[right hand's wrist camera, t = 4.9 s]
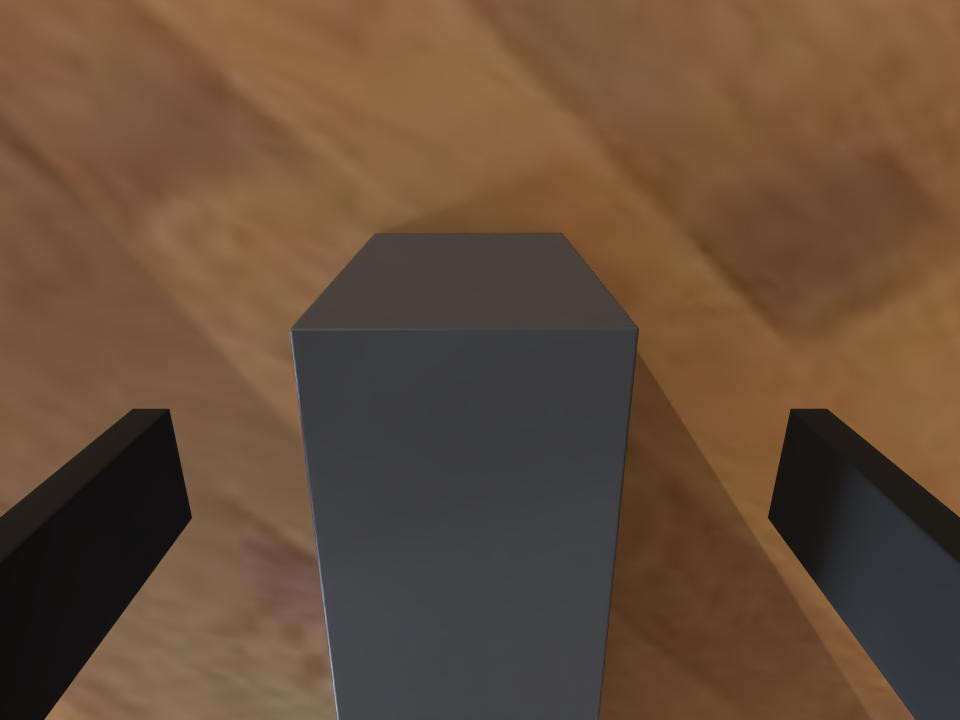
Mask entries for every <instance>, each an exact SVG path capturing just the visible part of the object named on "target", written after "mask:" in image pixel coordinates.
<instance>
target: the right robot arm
mask: <svg viewBox="0 0 960 720" xmlns="http://www.w3.org/2000/svg"><path fill="white" fill-rule="evenodd" d="M191 519H192V515H191V510H190V506H189V501H188V496H187V491H186V487H185V482H184V477H183V472H182V467H181V463H180V458H179V453H178V448H177V443H176V439H175V434H174V429H173V424H172V420H171V415H170V410H169V409H132V410H131V411H130V412H129V413H127V414H126V415H125V416H124V417H122V418H121V419H120V420H119V421H118V422H116V423H115V424H114V425H113V426H111V427H110V428H109V429H108V430H107V431H105V432H104V433H103V434H102V435H100V436H99V437H98V438H97V439H96V440H94V441H93V442H92V443H91V444H89V445H88V446H87V447H86V448H85V449H83V450H82V451H81V452H80V453H78V454H77V455H76V456H75V457H74V458H72V459H71V460H70V461H69V462H67V463H66V464H65V465H64V466H63V467H61V468H60V469H59V470H58V471H56V472H55V473H54V474H53V475H52V476H50V477H49V478H48V479H47V480H45V481H44V482H43V483H42V484H41V485H39V486H38V487H37V488H36V489H34V490H33V491H32V492H31V493H30V494H28V495H27V496H26V497H25V498H23V499H22V500H21V501H20V502H19V503H17V504H16V505H15V506H14V507H12V508H11V509H10V510H9V511H8V512H6V513H5V514H4V515H3V516H2V517H0V720H44V719H45V718H46V717H47V715H48V714H49V713H50V711H51V710H52V708H53V707H54V706H55V704H56V703H57V702H58V700H59V699H60V698H61V696H62V695H63V693H64V692H65V691H66V689H67V688H68V687H69V685H70V684H71V683H72V681H73V680H74V678H75V677H76V676H77V674H78V673H79V672H80V670H81V669H82V668H83V666H84V665H85V663H86V662H87V661H88V659H89V658H90V657H91V655H92V654H93V652H94V651H95V650H96V648H97V647H98V646H99V644H100V643H101V642H102V640H103V639H104V637H105V636H106V635H107V633H108V632H109V631H110V629H111V628H112V627H113V625H114V624H115V622H116V621H117V620H118V618H119V617H120V616H121V614H122V613H123V612H124V610H125V609H126V607H127V606H128V605H129V603H130V602H131V601H132V599H133V598H134V597H135V595H136V594H137V592H138V591H139V590H140V588H141V587H142V586H143V584H144V583H145V582H146V580H147V579H148V577H149V576H150V575H151V573H152V572H153V571H154V569H155V568H156V566H157V565H158V564H159V562H160V561H161V560H162V558H163V557H164V556H165V554H166V553H167V551H168V550H169V549H170V547H171V546H172V545H173V543H174V542H175V541H176V539H177V538H178V536H179V535H180V534H181V532H182V531H183V530H184V528H185V527H186V526H187V524H188V523H189V521H190V520H191ZM768 519H769V520H770V521H771V523H772V524H773V526H774V527H775V528H776V530H777V531H778V532H779V534H780V535H781V536H782V538H783V539H784V541H785V542H786V543H787V545H788V546H789V547H790V549H791V550H792V551H793V553H794V554H795V556H796V557H797V558H798V560H799V561H800V562H801V564H802V565H803V566H804V568H805V569H806V571H807V572H808V573H809V575H810V576H811V577H812V579H813V580H814V582H815V583H816V584H817V586H818V587H819V588H820V590H821V591H822V592H823V594H824V595H825V597H826V598H827V599H828V601H829V602H830V603H831V605H832V606H833V607H834V609H835V610H836V612H837V613H838V614H839V616H840V617H841V618H842V620H843V621H844V622H845V624H846V625H847V627H848V628H849V629H850V631H851V632H852V633H853V635H854V636H855V637H856V639H857V640H858V642H859V643H860V644H861V646H862V647H863V648H864V650H865V651H866V652H867V654H868V655H869V657H870V658H871V659H872V661H873V662H874V663H875V665H876V666H877V668H878V669H879V670H880V672H881V673H882V674H883V676H884V677H885V678H886V680H887V681H888V683H889V684H890V685H891V687H892V688H893V689H894V691H895V692H896V693H897V695H898V696H899V698H900V699H901V700H902V702H903V703H904V704H905V706H906V707H907V708H908V710H909V711H910V713H911V714H912V715H913V717H914V718H915V719H916V720H960V517H958V516H957V515H956V514H955V513H954V512H952V511H951V510H950V509H949V508H948V507H946V506H945V505H944V504H943V503H941V502H940V501H939V500H938V499H937V498H935V497H934V496H933V495H932V494H930V493H929V492H928V491H927V490H926V489H924V488H923V487H922V486H921V485H919V484H918V483H917V482H916V481H915V480H913V479H912V478H911V477H910V476H908V475H907V474H906V473H905V472H904V471H902V470H901V469H900V468H899V467H897V466H896V465H895V464H894V463H893V462H891V461H890V460H889V459H888V458H886V457H885V456H884V455H883V454H882V453H880V452H879V451H878V450H877V449H875V448H874V447H873V446H872V445H871V444H869V443H868V442H867V441H866V440H864V439H863V438H862V437H861V436H860V435H858V434H857V433H856V432H855V431H853V430H852V429H851V428H850V427H849V426H847V425H846V424H845V423H844V422H842V421H841V420H840V419H839V418H838V417H836V416H835V415H834V414H833V413H831V412H830V411H829V410H828V409H791V410H790V415H789V420H788V424H787V429H786V434H785V439H784V443H783V448H782V453H781V458H780V463H779V467H778V472H777V477H776V482H775V487H774V491H773V496H772V501H771V506H770V510H769V515H768Z"/></svg>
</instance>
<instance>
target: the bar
mask: <svg viewBox="0 0 960 720" xmlns="http://www.w3.org/2000/svg"><path fill="white" fill-rule="evenodd" d="M638 332H639V329H638V327H637V326H636V325H635V323H634V322H633V321H632V320H631V318H630V317H629V316H628V315H627V313H626V312H625V311H624V310H623V308H622V307H621V306H620V305H619V303H618V302H617V301H616V300H615V298H614V297H613V296H612V295H611V293H610V292H609V291H608V290H607V288H606V287H605V286H604V285H603V283H602V282H601V281H600V280H599V278H598V277H597V276H596V275H595V273H594V272H593V271H592V270H591V268H590V267H589V266H588V265H587V263H586V262H585V261H584V260H583V258H582V257H581V256H580V255H579V253H578V252H577V251H576V250H575V248H574V247H573V246H572V245H571V243H570V242H569V241H568V240H567V238H566V237H565V236H564V235H563V234H562V233H530V234H374V235H373V236H372V237H371V238H370V240H369V241H368V242H367V243H366V244H365V245H364V246H363V247H362V249H361V250H360V251H359V252H358V253H357V254H356V255H355V256H354V258H353V259H352V260H351V261H350V262H349V263H348V264H347V266H346V267H345V268H344V269H343V270H342V271H341V272H340V273H339V275H338V276H337V277H336V278H335V279H334V280H333V281H332V282H331V284H330V285H329V286H328V287H327V288H326V289H325V290H324V292H323V293H322V294H321V295H320V296H319V297H318V298H317V299H316V301H315V302H314V303H313V304H312V305H311V306H310V307H309V308H308V310H307V311H306V312H305V313H304V314H303V315H302V316H301V317H300V319H299V320H298V321H297V322H296V323H295V324H294V325H293V327H292V328H291V329H290V336H291V344H292V352H293V360H294V369H295V377H296V385H297V393H298V401H299V409H300V417H301V426H302V434H303V442H304V450H305V458H306V466H307V474H308V483H309V491H310V499H311V507H312V515H313V523H314V531H315V540H316V548H317V556H318V564H319V572H320V580H321V588H322V597H323V605H324V613H325V621H326V629H327V637H328V645H329V654H330V662H331V670H332V678H333V686H334V694H335V702H336V711H337V719H338V720H599V712H600V703H601V693H602V683H603V673H604V664H605V654H606V644H607V634H608V625H609V615H610V605H611V595H612V586H613V576H614V566H615V556H616V547H617V537H618V527H619V517H620V508H621V498H622V488H623V478H624V468H625V459H626V449H627V439H628V429H629V420H630V410H631V400H632V390H633V381H634V371H635V361H636V351H637V342H638Z"/></svg>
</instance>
